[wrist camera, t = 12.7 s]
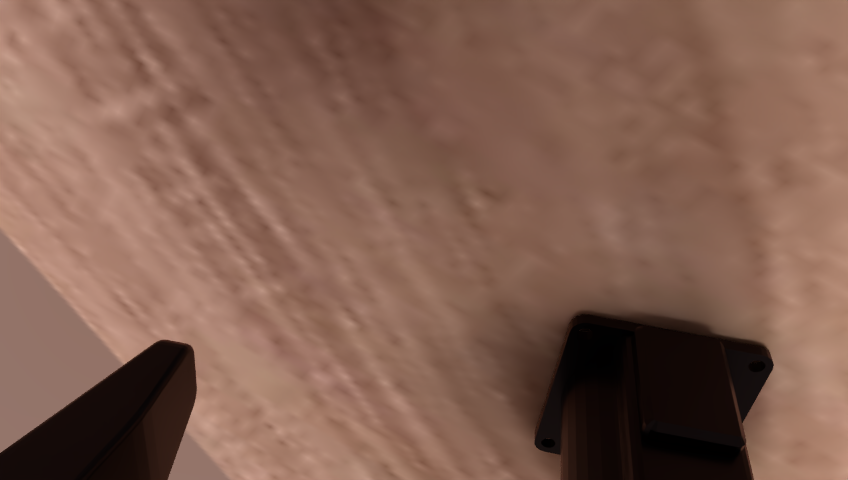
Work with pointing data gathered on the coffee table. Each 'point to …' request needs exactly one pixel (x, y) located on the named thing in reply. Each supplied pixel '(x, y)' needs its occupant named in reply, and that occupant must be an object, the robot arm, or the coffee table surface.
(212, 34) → the coffee table surface
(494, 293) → the coffee table surface
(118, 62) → the coffee table surface
